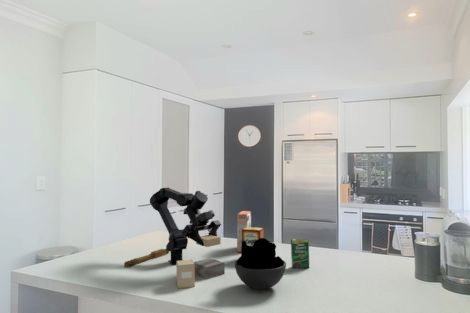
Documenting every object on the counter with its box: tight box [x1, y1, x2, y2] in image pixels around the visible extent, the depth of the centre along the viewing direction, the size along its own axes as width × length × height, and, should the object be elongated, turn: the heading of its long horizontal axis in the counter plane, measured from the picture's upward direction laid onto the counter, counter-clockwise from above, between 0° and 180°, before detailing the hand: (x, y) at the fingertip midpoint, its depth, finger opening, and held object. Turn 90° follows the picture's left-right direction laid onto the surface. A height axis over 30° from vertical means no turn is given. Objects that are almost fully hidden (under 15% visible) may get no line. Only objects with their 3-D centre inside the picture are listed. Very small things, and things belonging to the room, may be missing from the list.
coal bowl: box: [234, 237, 287, 291], centre depth 138 cm, size 20×20×19 cm
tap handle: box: [123, 248, 170, 268], centre depth 179 cm, size 3×3×30 cm
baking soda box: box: [242, 226, 265, 246], centre depth 178 cm, size 10×6×16 cm
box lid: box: [195, 234, 222, 248], centre depth 156 cm, size 8×8×3 cm
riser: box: [193, 257, 226, 280], centre depth 155 cm, size 10×10×5 cm
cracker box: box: [236, 210, 252, 253], centre depth 199 cm, size 14×6×21 cm, turn 168°
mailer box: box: [176, 259, 196, 289], centre depth 142 cm, size 6×6×9 cm
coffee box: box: [290, 238, 310, 269], centre depth 164 cm, size 8×3×13 cm, turn 92°
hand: (210, 244), depth 155 cm, fingers closed on box lid, 8 cm apart
